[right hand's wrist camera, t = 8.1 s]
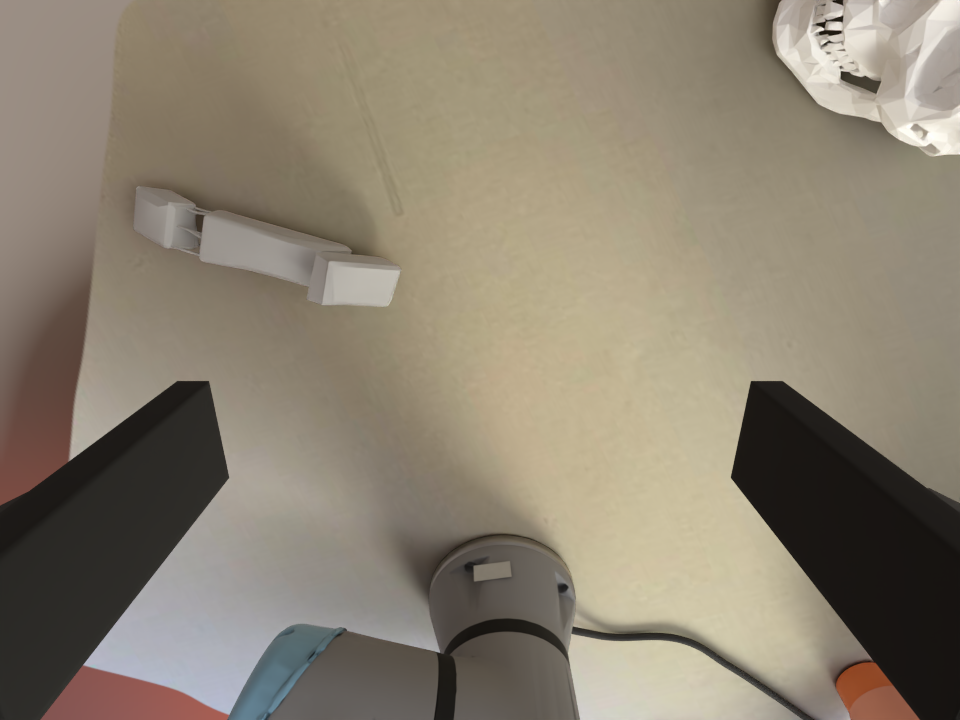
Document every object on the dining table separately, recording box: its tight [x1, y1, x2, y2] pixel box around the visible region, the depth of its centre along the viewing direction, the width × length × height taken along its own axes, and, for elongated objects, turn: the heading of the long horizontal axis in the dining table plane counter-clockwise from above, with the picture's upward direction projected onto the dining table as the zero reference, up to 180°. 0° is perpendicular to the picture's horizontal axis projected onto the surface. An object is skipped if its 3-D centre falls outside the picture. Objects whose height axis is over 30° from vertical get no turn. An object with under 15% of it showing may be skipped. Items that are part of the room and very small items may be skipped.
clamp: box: [133, 186, 401, 307], centre depth 39 cm, size 20×4×7 cm, turn 73°
